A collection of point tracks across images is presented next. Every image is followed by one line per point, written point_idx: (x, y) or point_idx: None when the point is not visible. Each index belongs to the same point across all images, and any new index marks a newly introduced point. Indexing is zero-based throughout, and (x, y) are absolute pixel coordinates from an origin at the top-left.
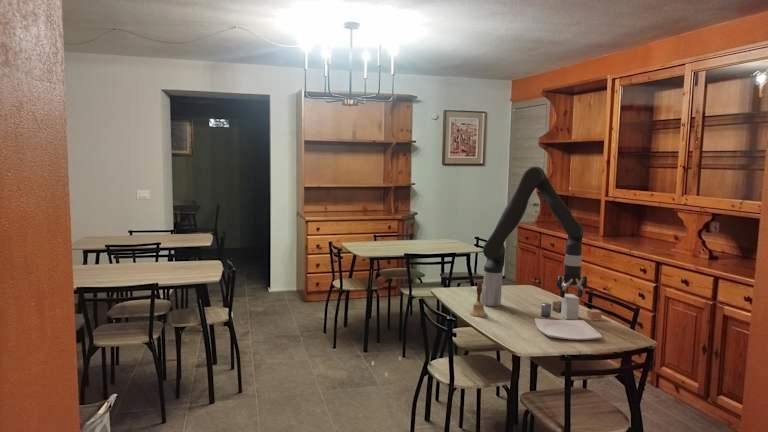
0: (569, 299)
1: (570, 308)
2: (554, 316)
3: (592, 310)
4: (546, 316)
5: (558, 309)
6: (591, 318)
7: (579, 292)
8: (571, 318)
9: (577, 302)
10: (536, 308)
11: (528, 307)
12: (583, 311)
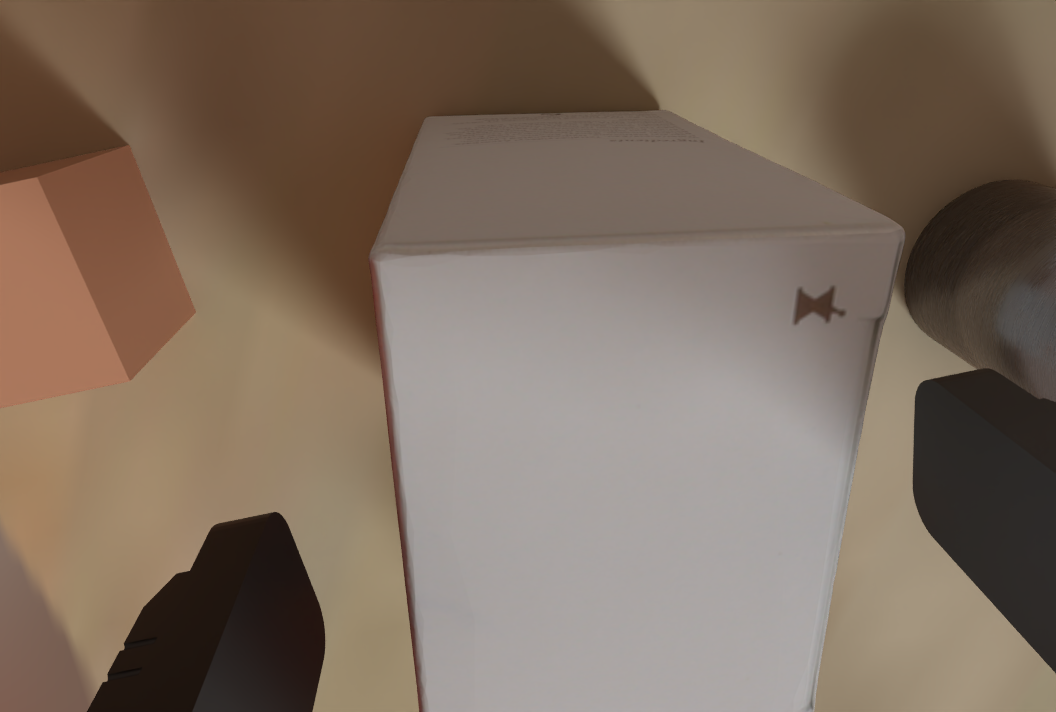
0: (795, 213)
1: (649, 145)
2: None
3: (6, 334)
4: (1040, 187)
5: None
6: (114, 155)
7: (241, 701)
8: (566, 114)
9: (449, 193)
10: (919, 666)
11: (1018, 690)
12: None
